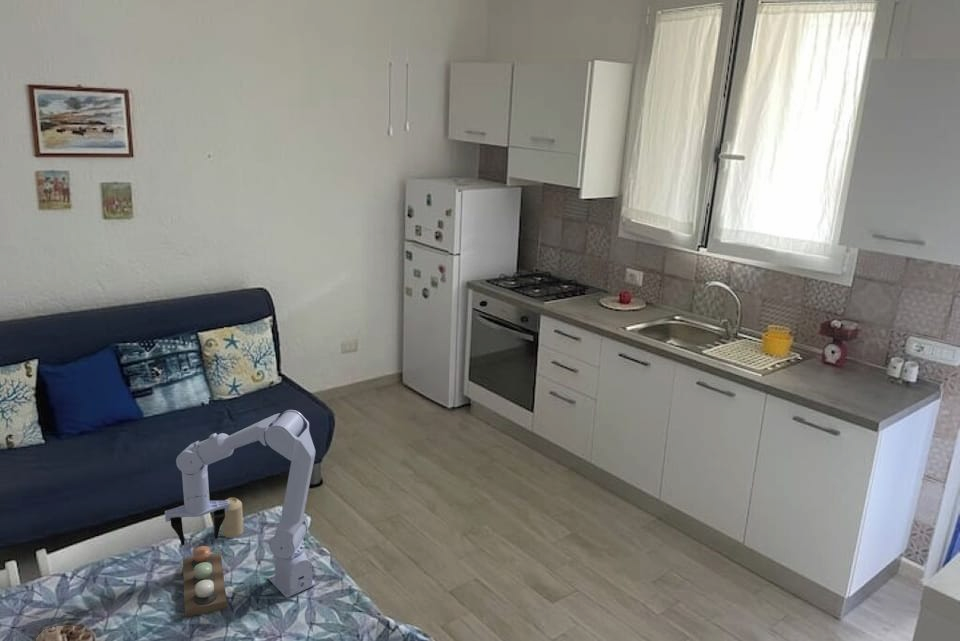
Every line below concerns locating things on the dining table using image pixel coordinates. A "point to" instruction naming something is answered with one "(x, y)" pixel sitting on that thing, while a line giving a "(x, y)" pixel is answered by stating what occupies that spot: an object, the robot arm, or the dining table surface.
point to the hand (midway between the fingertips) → (199, 539)
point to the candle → (233, 519)
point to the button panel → (192, 601)
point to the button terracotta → (201, 553)
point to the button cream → (204, 588)
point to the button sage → (203, 570)
